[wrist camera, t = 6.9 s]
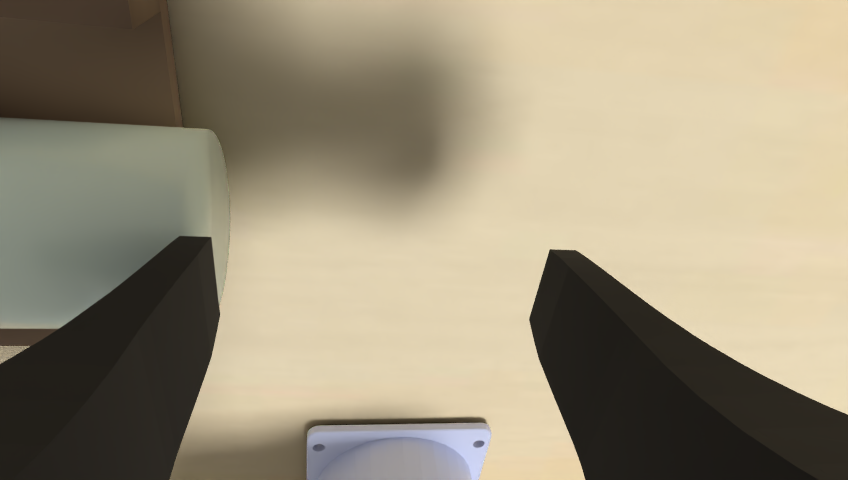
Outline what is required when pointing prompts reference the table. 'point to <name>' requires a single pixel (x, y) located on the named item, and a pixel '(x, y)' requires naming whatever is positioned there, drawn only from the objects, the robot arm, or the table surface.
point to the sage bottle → (99, 210)
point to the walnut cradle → (86, 71)
